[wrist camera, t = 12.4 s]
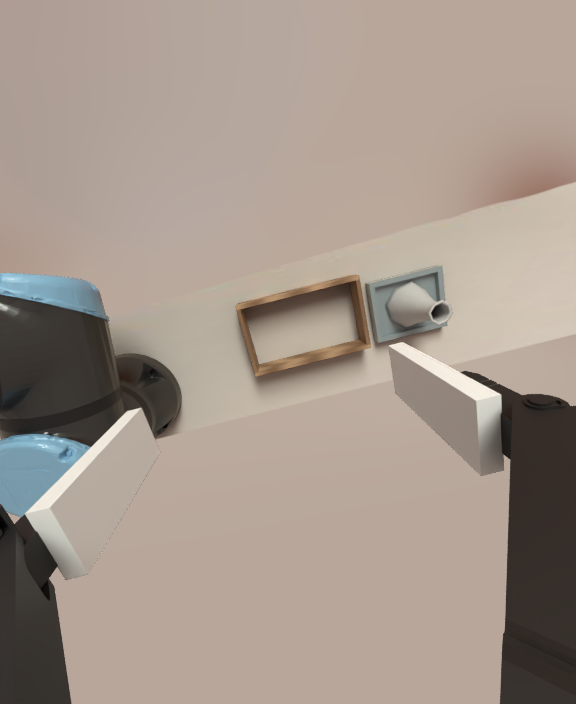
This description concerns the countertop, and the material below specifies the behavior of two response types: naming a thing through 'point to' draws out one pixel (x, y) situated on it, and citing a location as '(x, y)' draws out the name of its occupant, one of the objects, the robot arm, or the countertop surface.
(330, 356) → the caddy
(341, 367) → the countertop surface
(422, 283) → the tray
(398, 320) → the flask
